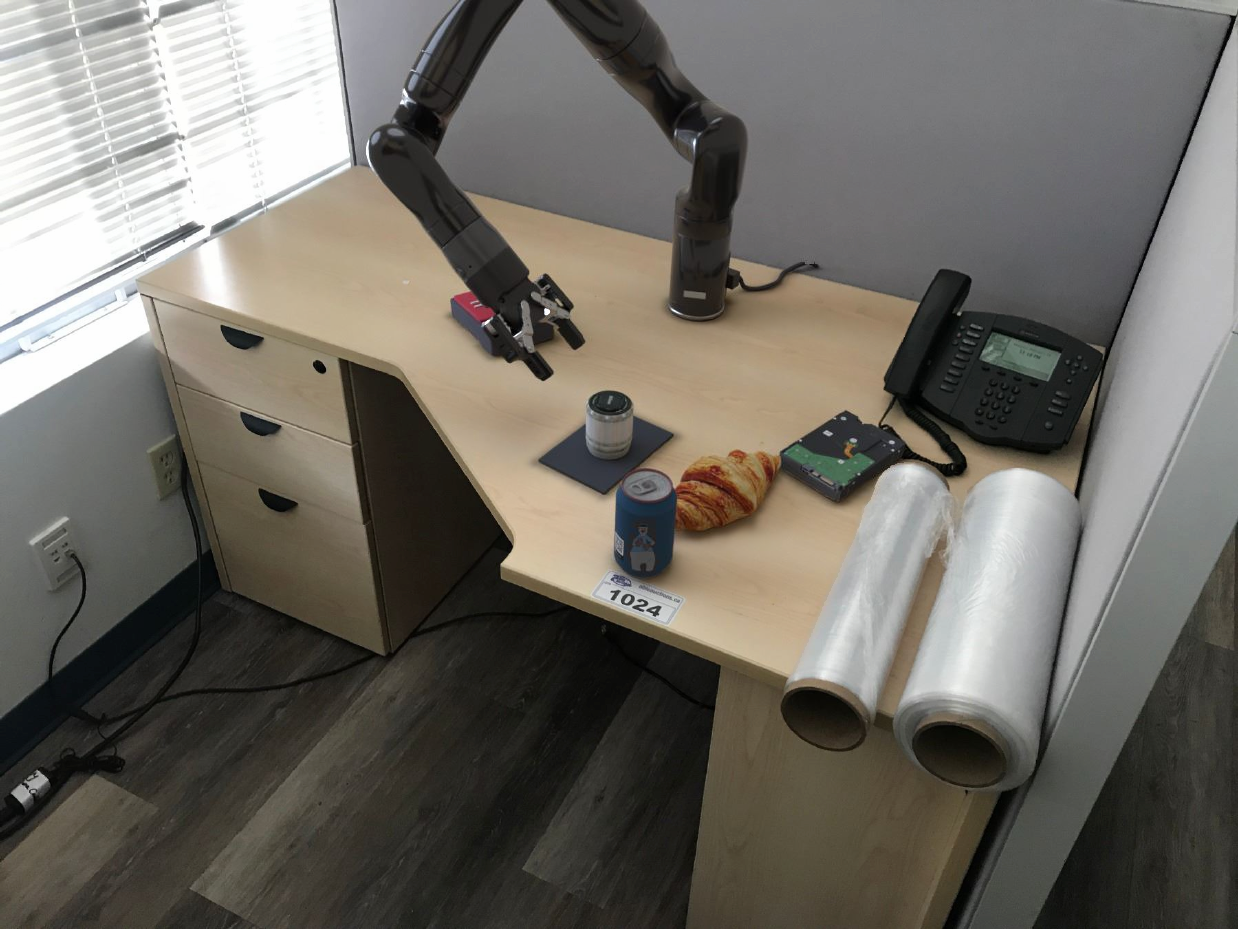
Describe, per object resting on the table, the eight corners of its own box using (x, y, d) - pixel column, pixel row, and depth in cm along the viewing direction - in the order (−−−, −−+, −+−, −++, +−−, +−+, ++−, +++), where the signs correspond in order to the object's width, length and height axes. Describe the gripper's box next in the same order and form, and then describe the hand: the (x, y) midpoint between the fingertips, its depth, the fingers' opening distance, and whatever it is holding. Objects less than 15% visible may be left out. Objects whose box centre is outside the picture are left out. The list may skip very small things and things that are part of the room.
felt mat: (610, 407, 142) (610, 404, 142) (673, 435, 137) (673, 433, 137) (538, 461, 132) (538, 459, 131) (604, 494, 127) (604, 492, 126)
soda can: (653, 535, 121) (658, 458, 113) (682, 571, 116) (690, 493, 109) (603, 552, 118) (605, 475, 111) (631, 590, 114) (635, 511, 106)
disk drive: (840, 424, 140) (775, 467, 132) (844, 408, 139) (778, 450, 130) (903, 458, 135) (838, 505, 126) (907, 441, 133) (842, 488, 124)
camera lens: (582, 458, 132) (582, 410, 127) (589, 431, 137) (590, 383, 132) (628, 464, 131) (630, 415, 126) (634, 435, 136) (636, 388, 131)
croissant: (757, 478, 135) (743, 424, 133) (813, 483, 127) (799, 425, 125) (645, 545, 124) (627, 487, 121) (700, 555, 116) (682, 493, 114)
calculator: (509, 277, 163) (554, 313, 153) (511, 301, 166) (555, 338, 156) (448, 294, 159) (490, 331, 148) (451, 318, 161) (492, 356, 151)
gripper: (470, 271, 118) (556, 376, 121) (530, 225, 128) (608, 324, 131) (437, 299, 123) (520, 400, 126) (497, 253, 133) (573, 348, 136)
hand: (565, 361), depth 129 cm, fingers open, 8 cm apart
